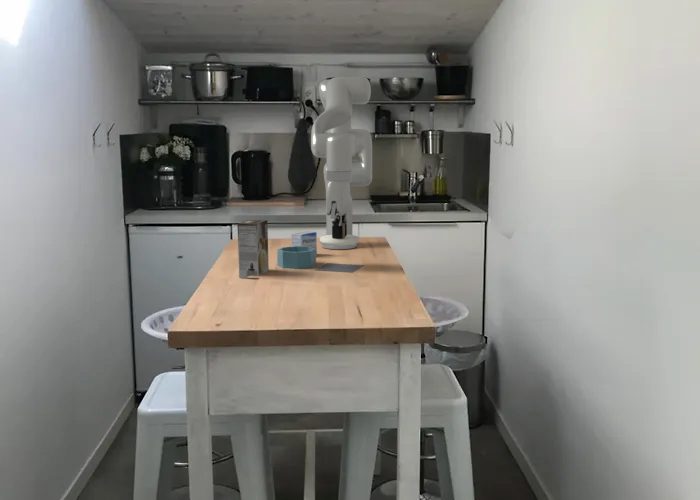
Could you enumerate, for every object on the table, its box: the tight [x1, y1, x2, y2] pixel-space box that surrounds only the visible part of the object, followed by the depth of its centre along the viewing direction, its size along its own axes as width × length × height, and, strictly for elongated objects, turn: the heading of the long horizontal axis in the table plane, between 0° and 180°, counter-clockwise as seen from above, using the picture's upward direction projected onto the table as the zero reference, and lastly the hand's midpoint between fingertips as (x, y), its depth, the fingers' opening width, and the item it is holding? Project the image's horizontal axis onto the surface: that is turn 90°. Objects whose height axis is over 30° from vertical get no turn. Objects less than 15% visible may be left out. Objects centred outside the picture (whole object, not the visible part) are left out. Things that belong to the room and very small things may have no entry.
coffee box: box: [236, 219, 270, 280], centre depth 212 cm, size 9×6×16 cm
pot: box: [276, 245, 317, 270], centre depth 224 cm, size 11×11×6 cm
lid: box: [319, 223, 360, 246], centre depth 219 cm, size 12×12×6 cm
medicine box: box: [291, 230, 318, 256], centre depth 241 cm, size 8×4×9 cm, turn 143°
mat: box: [315, 262, 365, 274], centre depth 220 cm, size 12×12×1 cm
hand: (339, 236), depth 219 cm, fingers closed on lid, 3 cm apart
